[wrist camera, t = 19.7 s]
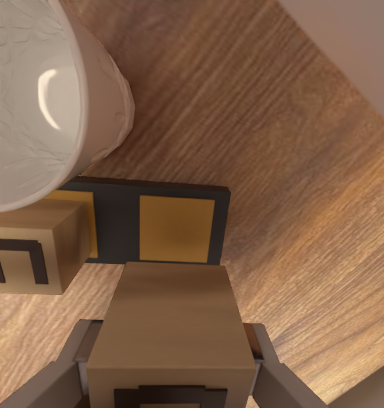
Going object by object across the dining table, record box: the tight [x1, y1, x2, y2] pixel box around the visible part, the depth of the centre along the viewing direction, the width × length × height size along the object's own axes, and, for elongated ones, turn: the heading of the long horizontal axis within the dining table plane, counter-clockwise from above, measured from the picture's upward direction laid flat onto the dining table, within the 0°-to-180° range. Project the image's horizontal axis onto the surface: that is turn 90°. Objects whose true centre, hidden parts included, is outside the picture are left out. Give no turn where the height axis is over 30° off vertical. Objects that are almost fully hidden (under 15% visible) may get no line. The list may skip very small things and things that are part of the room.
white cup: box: [0, 0, 135, 212], centre depth 10 cm, size 8×8×10 cm
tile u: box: [0, 199, 91, 295], centre depth 14 cm, size 4×4×5 cm
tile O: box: [86, 262, 256, 408], centre depth 8 cm, size 4×4×5 cm
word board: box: [42, 176, 231, 265], centre depth 17 cm, size 7×17×2 cm, turn 85°
